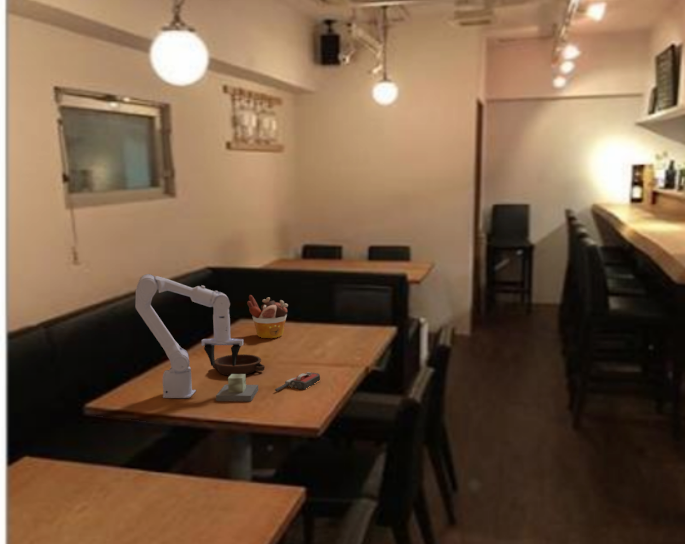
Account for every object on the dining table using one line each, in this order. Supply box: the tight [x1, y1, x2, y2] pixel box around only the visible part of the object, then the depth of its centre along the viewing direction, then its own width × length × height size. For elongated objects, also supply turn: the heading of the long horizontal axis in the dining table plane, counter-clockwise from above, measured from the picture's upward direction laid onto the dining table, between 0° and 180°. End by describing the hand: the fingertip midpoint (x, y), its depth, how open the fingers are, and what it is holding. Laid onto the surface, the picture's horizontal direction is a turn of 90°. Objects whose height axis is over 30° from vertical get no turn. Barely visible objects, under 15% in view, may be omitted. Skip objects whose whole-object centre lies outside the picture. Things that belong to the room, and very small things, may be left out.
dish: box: [212, 353, 266, 377], centre depth 261 cm, size 18×22×5 cm
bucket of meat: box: [246, 294, 289, 339], centre depth 317 cm, size 20×16×20 cm
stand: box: [215, 384, 259, 402], centre depth 232 cm, size 12×12×2 cm
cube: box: [227, 374, 247, 392], centre depth 231 cm, size 5×5×5 cm
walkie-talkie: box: [274, 371, 321, 392], centre depth 241 cm, size 9×4×20 cm
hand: (223, 365), depth 236 cm, fingers open, 7 cm apart
